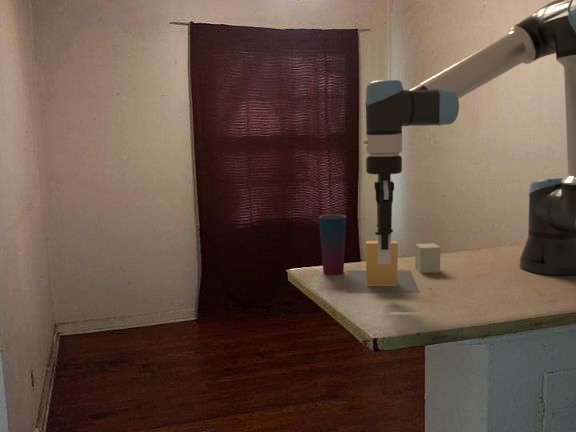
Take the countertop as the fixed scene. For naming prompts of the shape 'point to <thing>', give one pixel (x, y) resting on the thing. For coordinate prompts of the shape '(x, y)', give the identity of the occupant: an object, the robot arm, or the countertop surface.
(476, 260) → the countertop surface
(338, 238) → the cup
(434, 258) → the sage block
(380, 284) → the ochre slab
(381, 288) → the mat
